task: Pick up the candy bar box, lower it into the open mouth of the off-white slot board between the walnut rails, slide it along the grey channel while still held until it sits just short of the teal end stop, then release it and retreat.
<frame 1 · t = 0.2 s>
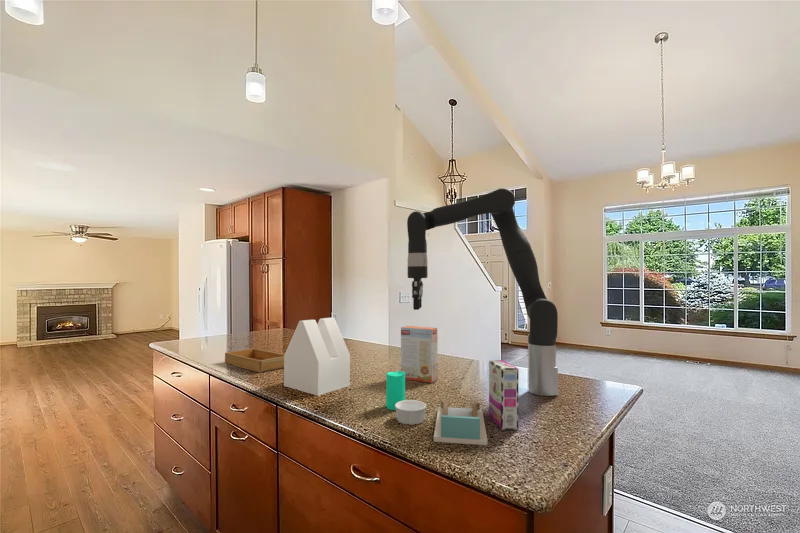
hand: (417, 308, 141), 29 cm above the worktop, fingers open, 8 cm apart
slot board: (460, 426, 103), on the worktop
cracker box: (419, 380, 150), on the worktop
candle: (395, 407, 118), on the worktop
slotted house block: (316, 386, 141), on the worktop
ramekin: (410, 420, 108), on the worktop
tray: (256, 366, 175), on the worktop
candy bar box: (503, 423, 106), on the worktop
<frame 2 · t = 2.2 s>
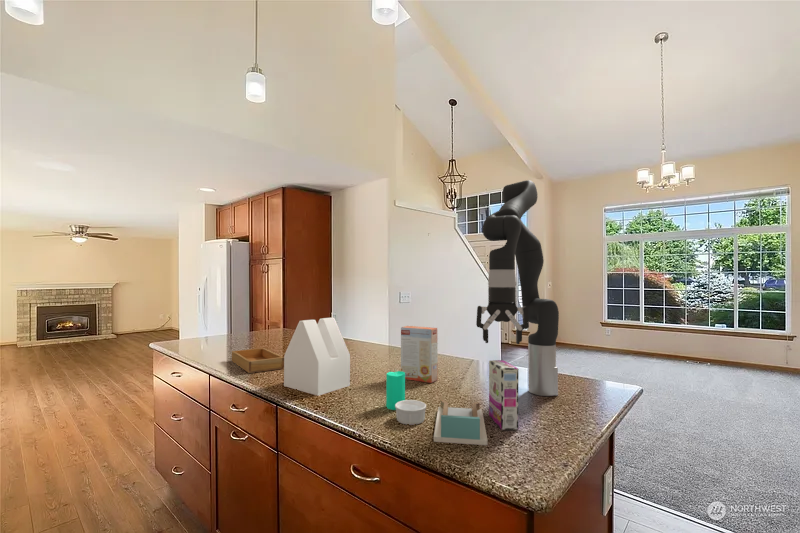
hand: (502, 343, 106), 22 cm above the worktop, fingers open, 8 cm apart
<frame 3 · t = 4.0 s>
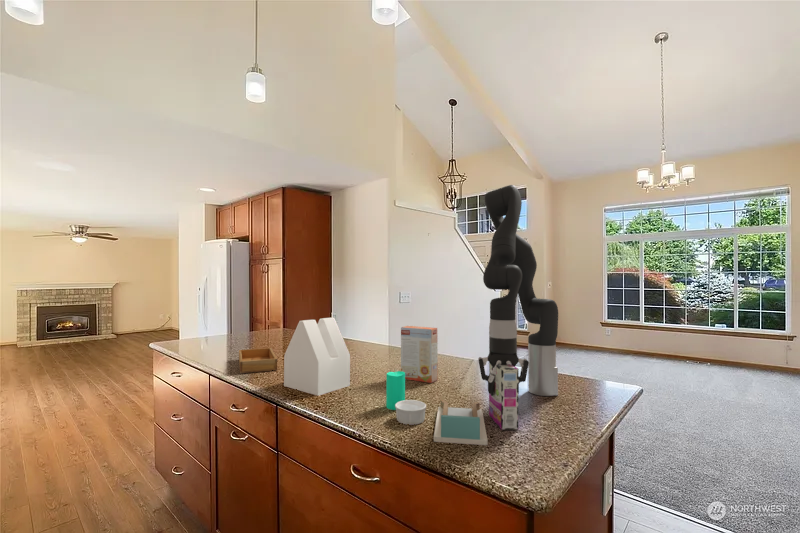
hand: (503, 395, 106), 8 cm above the worktop, fingers closed on candy bar box, 5 cm apart
candy bar box: (503, 423, 106), on the worktop, touching gripper
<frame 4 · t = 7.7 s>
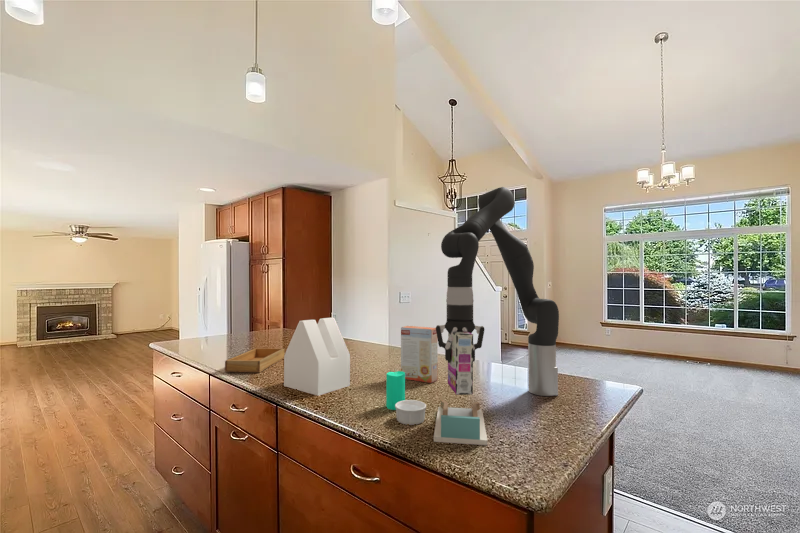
hand: (459, 362, 107), 17 cm above the worktop, fingers closed on candy bar box, 5 cm apart
candy bar box: (460, 390, 106), point 9 cm above the worktop, touching gripper
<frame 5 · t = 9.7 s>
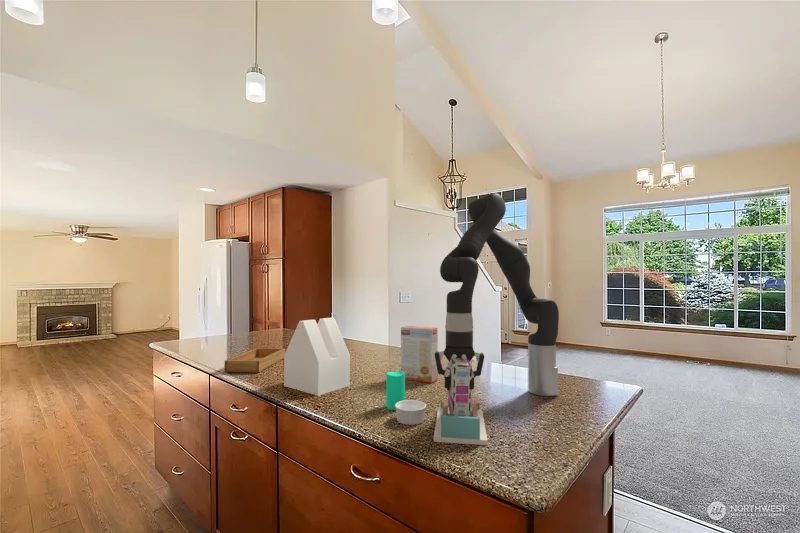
hand: (459, 389, 104), 10 cm above the worktop, fingers closed on candy bar box, 5 cm apart
candy bar box: (458, 415, 105), point 2 cm above the worktop, touching gripper
when the fingers open (9 cm above the worktop, at t = 11.4 s): candy bar box stays where it is, resting on slot board.
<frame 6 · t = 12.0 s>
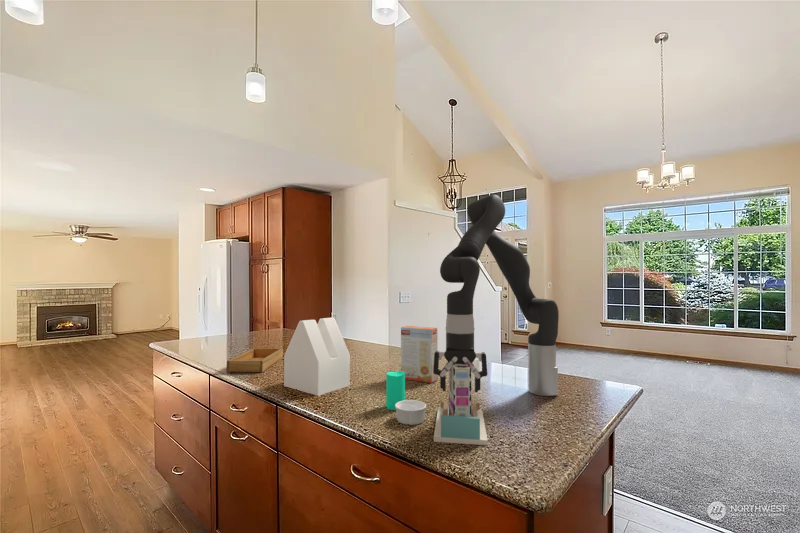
hand: (460, 391, 101), 10 cm above the worktop, fingers open, 8 cm apart
candy bar box: (460, 422, 103), point 1 cm above the worktop, touching slot board
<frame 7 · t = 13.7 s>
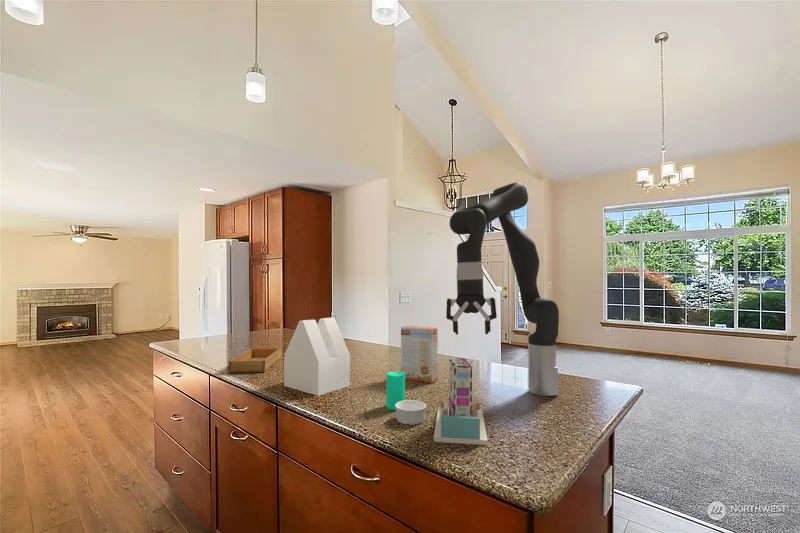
hand: (471, 333, 109), 24 cm above the worktop, fingers open, 8 cm apart
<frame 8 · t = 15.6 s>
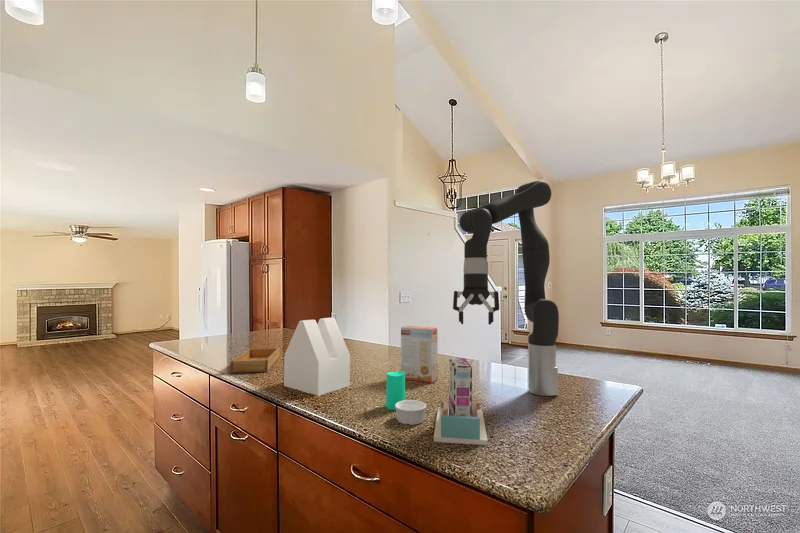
hand: (475, 324, 118), 26 cm above the worktop, fingers open, 8 cm apart
at the end: candy bar box 2.2 cm from the target spot on the slot board, point 1.0 cm above the slot board's base; candy bar box tilted 0°; the gripper is holding nothing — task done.
